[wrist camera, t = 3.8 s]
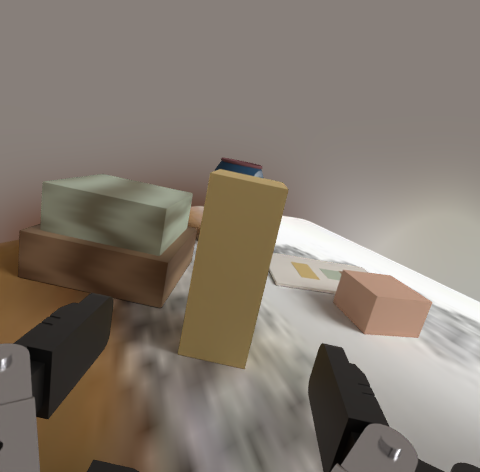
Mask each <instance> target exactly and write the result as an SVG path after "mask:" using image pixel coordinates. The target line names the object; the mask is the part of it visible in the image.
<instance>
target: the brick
mask: <svg viewBox="0 0 480 472" xmlns="http://www.w3.org/2000/svg"><path fill="white" fill-rule="evenodd" d="M333 303H334V304H335V305H336V306H337V307H338V308H339V309H340V310H341V311H342V312H343V313H344V314H345V315H346V316H347V317H348V318H349V319H350V320H351V321H352V322H353V323H354V324H355V325H356V326H357V327H358V328H359V329H360V330H361V331H362V332H363V333H364V334H370V335H385V336H400V337H414V338H418V337H419V334H420V332H421V329H422V327H423V324H424V322H425V319H426V317H427V314H428V312H429V309H430V307H431V304H432V302H431V301H430V300H428V299H426V298H425V297H423V296H422V295H420V294H419V293H417V292H416V291H414V290H412V289H411V288H409V287H408V286H406V285H405V284H403V283H402V282H400V281H398V280H397V279H395V278H394V277H392V276H390V275H382V274H374V273H366V272H358V271H350V270H343V271H342V274H341V278H340V281H339V284H338V287H337V290H336V294H335V297H334V300H333Z"/></svg>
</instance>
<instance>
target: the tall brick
mask: <svg viewBox="0 0 480 472" xmlns="http://www.w3.org/2000/svg"><path fill="white" fill-rule="evenodd" d="M287 194H288V188H287V187H286V186H285V184H284V183H283V182H278V181H273V180H269V179H264V178H259V177H255V176H250V175H245V174H241V173H236V172H231V171H227V170H222V169H219V170H216V171H214V172H211V173H210V178H209V183H208V189H207V195H206V200H205V205H204V211H203V217H202V222H201V228H200V233H199V239H198V244H197V250H196V256H195V261H194V267H193V272H192V278H191V283H190V289H189V295H188V300H187V306H186V311H185V317H184V322H183V328H182V334H181V339H180V345H179V350H178V355H183V356H187V357H192V358H197V359H201V360H206V361H210V362H215V363H219V364H224V365H228V366H233V367H237V368H242V369H245V366H246V361H247V357H248V353H249V349H250V345H251V341H252V337H253V333H254V329H255V325H256V320H257V316H258V312H259V308H260V304H261V300H262V296H263V292H264V288H265V284H266V280H267V275H268V271H269V267H270V263H271V259H272V255H273V251H274V247H275V243H276V239H277V235H278V230H279V226H280V222H281V218H282V214H283V210H284V206H285V202H286V198H287Z"/></svg>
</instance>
